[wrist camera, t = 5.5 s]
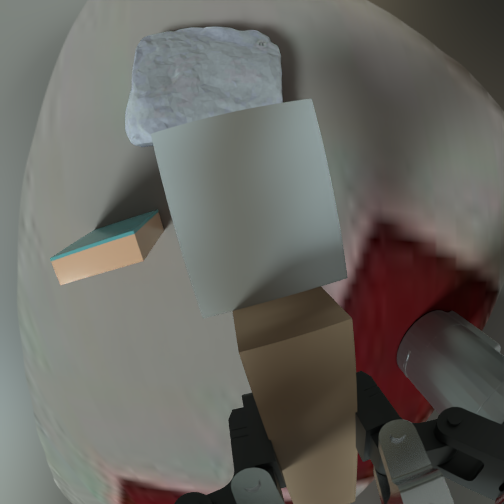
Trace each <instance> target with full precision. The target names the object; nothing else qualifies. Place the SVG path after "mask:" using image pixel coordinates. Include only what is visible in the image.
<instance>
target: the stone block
mask: <svg viewBox="0 0 504 504" xmlns="http://www.w3.org/2000/svg"><path fill="white" fill-rule="evenodd" d="M277 103H283V100H282V69H281V54H280V51H279V48H278V46H277V45H275V44H273V43H271V40H270V38H269V37H268V36H266V35H264V34H262V33H261V32H259V31H257V30H246V31H239V30H235V29H233V28H228V27H205V28H200V27H191V28H184V29H180V30H177V31H174V32H173V31H167V32H163V33H158V34H154V35H149V36H146V37H144V38H143V39H142V40H141V42H140V43H139V44H138V46H137V47H136V52H135V59H134V64H133V71H132V89H131V92H130V96H129V101H128V105H127V109H126V115H125V131H126V133H127V135H128V137H129V140H130V142H131V143H132V144H134V145H136V146H141V147H146V146H153V142H152V137H151V134H152V133H155V132H158V131H161V130H165V129H168V128H171V127H175V126H178V125H182V124H185V123H189V122H193V121H197V120H201V119H204V118H209V117H213V116H217V115H221V114H226V113H230V112H235V111H239V110H244V109H249V108H255V107H260V106H266V105H271V104H277Z"/></svg>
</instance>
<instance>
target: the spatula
mask: <svg viewBox="0 0 504 504" xmlns="http://www.w3.org/2000/svg"><path fill="white" fill-rule="evenodd" d="M151 137H152V142H153V146H154V150H155V155H156V159H157V163H158V167H159V171H160V175H161V179H162V183H163V187H164V191H165V195H166V198H167V202H168V206H169V210H170V213H171V217H172V221H173V224H174V228H175V231H176V235H177V238H178V241H179V245H180V248H181V252H182V255H183V258H184V262H185V265H186V268H187V271H188V274H189V278H190V281H191V284H192V287H193V290H194V293H195V296H196V299H197V302H198V305H199V308H200V311H201V314H202V317H203V318H207V317H211V316H215V315H219V314H223V313H227V312H231V311H233V317H234V324H235V330H236V337H237V343H238V350H239V354H240V357H241V360H242V364H243V367H244V370H245V373H246V376H247V379H248V382H249V385H250V387H251V390H252V393H253V396H254V399H255V402H256V405H257V408H258V411H259V414H260V416H261V419H262V422H263V425H264V428H265V430H266V433H267V436H268V439H269V440H271V442H272V444H273V447H274V450H275V453H276V455H277V458H278V461H279V463H280V466H281V469H282V472H283V476H284V479H285V483H286V486H287V489H288V491H289V494H290V496H291V499H292V501H293V504H349V503H352V502H355V494H356V476H357V449H356V420H355V412H357V384H356V364H355V349H354V336H353V325H352V318H351V317H350V316H349V315H348V314H347V313H346V312H345V311H344V310H343V309H342V308H341V307H340V306H339V305H338V304H337V303H336V302H335V301H334V299H333V298H332V297H331V296H330V295H329V294H328V293H327V292H326V291H325V290H324V289H323V288H322V287H321V286H323V285H327V284H330V283H333V282H336V281H340V280H343V279H346V278H347V270H346V263H345V256H344V249H343V243H342V237H341V230H340V224H339V219H338V213H337V208H336V202H335V197H334V192H333V187H332V182H331V177H330V172H329V168H328V163H327V159H326V154H325V150H324V146H323V141H322V137H321V133H320V129H319V125H318V121H317V117H316V114H315V110H314V106H313V102H312V99H305V100H298V101H291V102H284V103H277V104H271V105H266V106H260V107H255V108H249V109H244V110H239V111H235V112H230V113H226V114H221V115H217V116H213V117H209V118H204V119H201V120H197V121H193V122H189V123H185V124H182V125H178V126H175V127H171V128H168V129H165V130H161V131H158V132H155V133H152V134H151Z"/></svg>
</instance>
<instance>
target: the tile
mask: <svg viewBox="0 0 504 504" xmlns="http://www.w3.org/2000/svg"><path fill="white" fill-rule="evenodd" d="M163 232H164V229H163V225H162V222H161V218H160V215H159V212H158V210H155V211H151V212H148V213H145V214H142V215H139V216H135V217H132V218H129V219H126V220H123V221H120V222H117V223H114V224H111V225H108V226H105V227H102V228H99V229H96V230H94V231H92V232H90V233H89V234H87V235H85V236H84V237H82V238H81V239H79V240H77V241H76V242H74V243H73V244H71V245H70V246H68V247H67V248H65V249H63V250H62V251H60V252H59V253H57V254H56V255H54V256H53V257H51V258H50V260H51V262H52V265H53V268H54V270H55V273H56V275H57V278H58V280H59V283H60V285H63V284H67V283H70V282H73V281H77V280H80V279H83V278H87V277H90V276H93V275H97V274H100V273H104V272H107V271H111V270H114V269H118V268H121V267H124V266H128V265H131V264H135V263H138V262H142V261H144V260H145V258H146V257H147V255H148V254H149V252H150V251H151V249H152V248H153V246H154V245H155V243H156V242H157V240H158V239H159V237H160V236H161V234H162V233H163Z"/></svg>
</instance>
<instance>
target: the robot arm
mask: <svg viewBox="0 0 504 504" xmlns="http://www.w3.org/2000/svg"><path fill="white" fill-rule="evenodd" d="M500 349H501V348H500V345H499V344H498V343H497V342H495V341H494V340H493V339H491V338H490V337H489V336H487V335H486V334H484V333H483V332H482V331H481V330H479V329H478V328H476V327H475V326H474V325H472V324H471V323H470V322H468V321H467V320H465V319H464V318H462V317H461V316H460V315H458V314H457V313H455V312H454V311H450V312H448V313H447V312H444V311H442V310H436V311H432V312H430V313H427V314H426V315H424V316H423V317H421V318H420V319H419V320H418V321H416V322H415V323H414V324H413V326H412V327H411V328H410V329H409V330H408V332H407V333H406V335H405V336H404V338H403V340H402V342H401V343H400V346H399V349H398V353H397V363H398V366H399V368H400V369H401V370H402V371H403V372H404V374H405V375H406V376H407V377H408V378H409V379H410V380H411V382H412V383H413V384H414V385H415V387H416V388H417V389H418V390H419V391H420V392H421V394H422V395H423V396H424V397H425V398H426V399H427V401H428V402H429V403H430V404H431V405H432V407H433V408H434V409H435V410H436V411H437V412H438V414H439V416H438V419H436V420H431V421H427V422H423V423H411V422H409V421H407V420H403V419H402V418H401V417H400V416H399V415H398V414H397V412H396V411H395V409H394V408H393V407H392V405H391V404H390V402H389V401H388V400H387V398H386V397H385V395H384V394H383V393H382V391H381V390H380V388H379V387H378V386H377V384H376V383H375V381H374V380H373V379H372V377H371V376H369V375H367V374H366V373H364V372H362V371H360V372H357V373H356V384H357V412H355V420H356V449H357V451H358V453H359V455H360V457H361V459H362V461H363V462H364V461H366V460H369V459H371V461H372V463H373V465H374V467H373V472H374V476H375V480H376V483H377V487H378V491H379V495H380V499H381V503H382V504H454V502H453V499H452V497H451V494H450V492H449V489H448V486H447V484H446V481H445V479H444V477H446V478H448V479H450V480H452V481H454V482H456V483H458V484H460V485H462V486H464V487H466V488H468V489H470V490H473V491H475V492H477V493H479V494H481V495H484V496H486V497H488V498H490V499H492V500H495V504H504V356H503V355H502V354H500ZM242 400H243V406H244V407H243V408H238V409H234V410H232V412H231V415H230V417H229V429H230V438H231V446H232V455H233V463H234V476H233V478H232V480H231V481H230V483H229V484H228V485H226V486H225V487H224V488H222V489H220V490H217V491H215V492H213V493H210V494H208V495H204V494H202V493H198V492H191V493H187V494H184V495H182V496H181V497H180V498H178V499H177V501H176V502H175V504H284V498H283V494H282V491H281V488H284V487H286V483H285V479H284V476H283V472H282V469H281V466H280V463H279V461H278V458H277V455H276V453H275V450H274V447H273V444H272V442H271V440H269V439H268V436H267V433H266V430H265V428H264V425H263V422H262V419H261V416H260V414H259V411H258V408H257V405H256V402H255V399H254V396H253V393H248V394H244V395H242Z"/></svg>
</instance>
